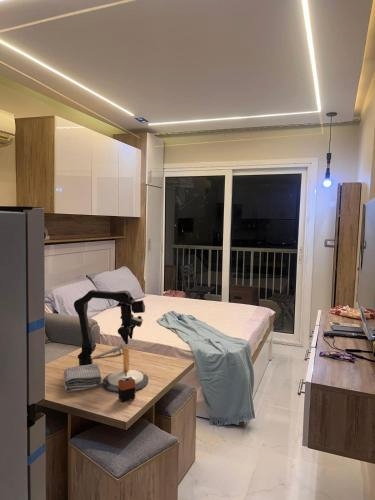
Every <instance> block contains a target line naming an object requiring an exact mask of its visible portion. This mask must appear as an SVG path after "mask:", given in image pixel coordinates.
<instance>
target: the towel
mask: <svg viewBox="0 0 375 500" xmlns="http://www.w3.org/2000/svg"><path fill="white" fill-rule="evenodd" d="M63 376H64V382H63V383H64V391H65V392H66V393H73V392H74V393H75V392H78V391H84V390H88V389H93V388H101V387H103V379H102V376H101V370H100V367H99V365H98V363H96V362H95V363H93V364H90V365H83V366H79V365H75V366H70V367H67V368H66V369H65V370H64V372H63Z"/></svg>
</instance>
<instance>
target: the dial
mask: <svg viewBox="0 0 375 500" xmlns="http://www.w3.org/2000/svg"><path fill="white" fill-rule="evenodd" d="M122 354H123V355H122V356H123V358H122V361H123V363H122V364H123V370H122V369H121V370H118V371H115V372H112V374H111V373H110V375H109V374H108V375H109V377H108V382H109V384H111V385H113V386H117V387H119V386H118V381H119V380H121V379H122V378H129V377H132V378H133V379H134V380H135V385H137V384H139V383H140V382H142V380H143V374H142V373H141V372H142V371H140V372H139V370H135V369H130V347H124V348H123V352H122Z"/></svg>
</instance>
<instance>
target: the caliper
mask: <svg viewBox="0 0 375 500" xmlns="http://www.w3.org/2000/svg"><path fill="white" fill-rule="evenodd" d="M123 348H125V347H124V345H123V344H122V343H121V344H119V346H117V347H116V346H115V347H114V348H112V349H110V350H107V351H104V352H102V353H99V354H96V355H94V356H93V355H92V359H93V360H94V359H99V358H101V357H104V356H106V355H109V354H112V353H113V354H116V353H117V352H119V354H120V355H121V354H122V353H123Z"/></svg>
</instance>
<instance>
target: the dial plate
mask: <svg viewBox="0 0 375 500" xmlns="http://www.w3.org/2000/svg"><path fill="white" fill-rule="evenodd" d="M138 371H139V370H138ZM139 372H141V373H142V374H143V380H142V382H140V383H139V384H137V385H135V392H137V391H140V390H142V389H144V388H145V387H147V385H148V384H149V377H148V375H147V374H146V373H145V372H143V371H139ZM112 373H113V372H112ZM112 373H110V374H112ZM110 374H109V373H108V374H107V375H105V377H104V378H103V379H102V381H103V386H102V387H103V388H104V390H107V391H108V392H111V393H114V394H115V393H117V394H119V387H117V386H113V385H111V384H109V382H108V377H109V375H110Z"/></svg>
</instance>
